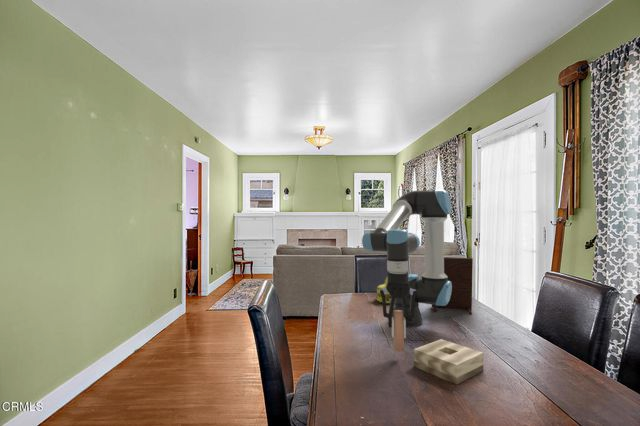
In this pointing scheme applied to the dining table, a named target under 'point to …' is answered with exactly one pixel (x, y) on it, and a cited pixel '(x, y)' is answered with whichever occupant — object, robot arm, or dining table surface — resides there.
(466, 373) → the bore block
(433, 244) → the robot arm
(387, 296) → the toy
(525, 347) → the dining table surface
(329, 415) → the dining table surface
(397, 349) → the pin
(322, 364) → the dining table surface
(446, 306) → the dark brown wooden cabinet
